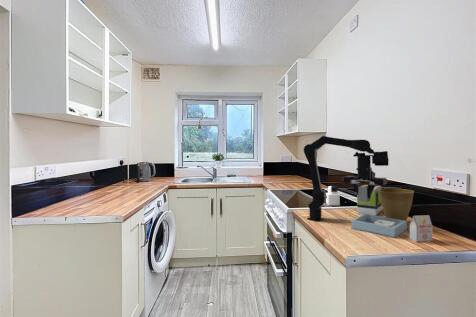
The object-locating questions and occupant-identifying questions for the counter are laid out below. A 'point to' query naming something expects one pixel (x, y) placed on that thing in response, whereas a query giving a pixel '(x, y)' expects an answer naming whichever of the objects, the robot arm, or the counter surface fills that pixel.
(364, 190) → the connector
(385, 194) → the plant pot
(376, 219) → the walled box
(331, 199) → the medicine bottle
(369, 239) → the counter surface
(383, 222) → the frame
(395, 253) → the counter surface
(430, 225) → the milk carton
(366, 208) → the tea box
